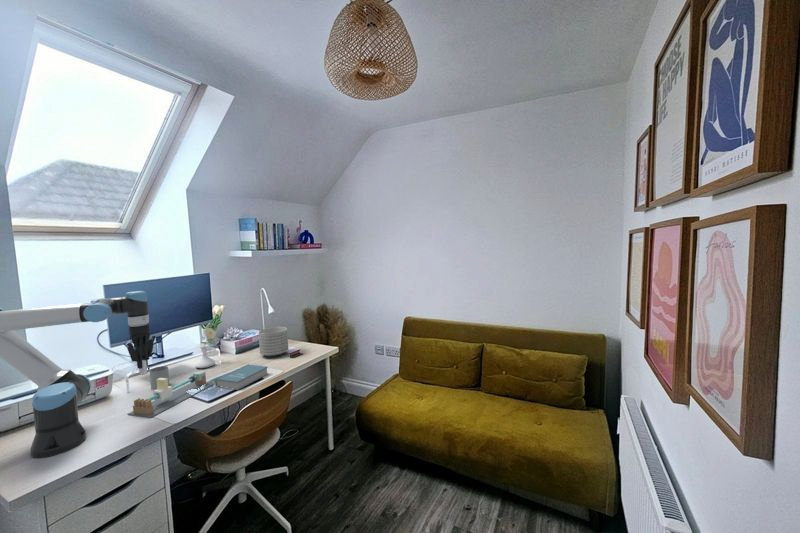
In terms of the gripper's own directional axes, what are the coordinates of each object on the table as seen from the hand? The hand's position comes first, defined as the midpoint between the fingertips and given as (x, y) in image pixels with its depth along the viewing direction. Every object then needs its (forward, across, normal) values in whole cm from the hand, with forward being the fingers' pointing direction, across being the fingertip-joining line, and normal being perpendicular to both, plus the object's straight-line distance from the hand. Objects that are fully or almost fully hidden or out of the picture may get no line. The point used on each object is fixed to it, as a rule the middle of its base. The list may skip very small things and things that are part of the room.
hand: (143, 374), depth 150 cm
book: (+20, +41, -19) cm, 49 cm away
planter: (+20, +83, -10) cm, 86 cm away
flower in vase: (+19, +56, +22) cm, 63 cm away
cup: (+19, +25, +23) cm, 39 cm away
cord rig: (+19, +15, 0) cm, 24 cm away
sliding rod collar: (+16, +9, 0) cm, 18 cm away
